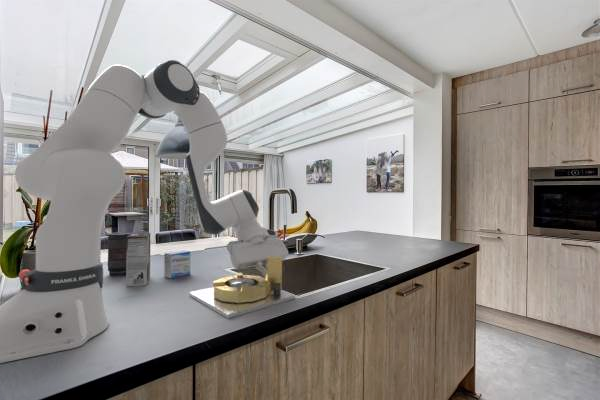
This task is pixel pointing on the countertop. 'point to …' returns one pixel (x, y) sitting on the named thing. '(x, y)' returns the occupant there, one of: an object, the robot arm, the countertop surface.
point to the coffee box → (138, 259)
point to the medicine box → (176, 264)
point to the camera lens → (117, 254)
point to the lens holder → (245, 292)
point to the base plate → (243, 307)
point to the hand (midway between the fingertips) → (270, 274)
